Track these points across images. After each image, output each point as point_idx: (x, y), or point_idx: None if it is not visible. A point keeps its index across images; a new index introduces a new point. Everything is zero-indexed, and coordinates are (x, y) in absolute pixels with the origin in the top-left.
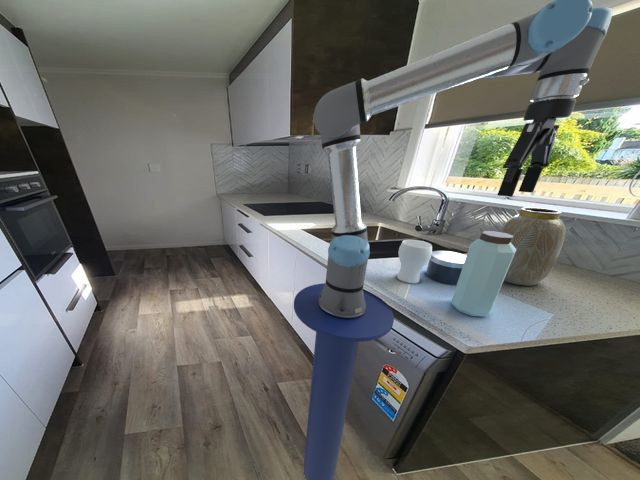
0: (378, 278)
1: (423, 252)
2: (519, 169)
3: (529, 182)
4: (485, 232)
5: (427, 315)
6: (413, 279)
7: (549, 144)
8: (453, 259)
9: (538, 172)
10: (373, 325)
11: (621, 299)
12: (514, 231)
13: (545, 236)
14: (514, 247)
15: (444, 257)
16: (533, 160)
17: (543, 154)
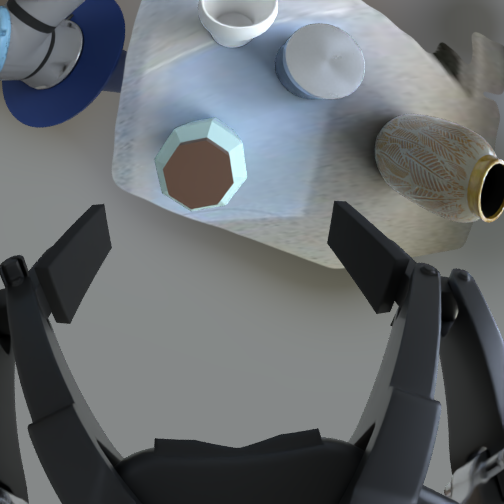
0: (180, 2)
1: (215, 28)
2: (54, 313)
3: (348, 244)
4: (191, 149)
5: (127, 123)
6: (219, 41)
7: (454, 404)
8: (312, 69)
9: (365, 290)
10: (52, 108)
11: (410, 250)
12: (438, 152)
13: (433, 200)
14: (221, 203)
15: (308, 52)
16: (406, 299)
17: (379, 370)
